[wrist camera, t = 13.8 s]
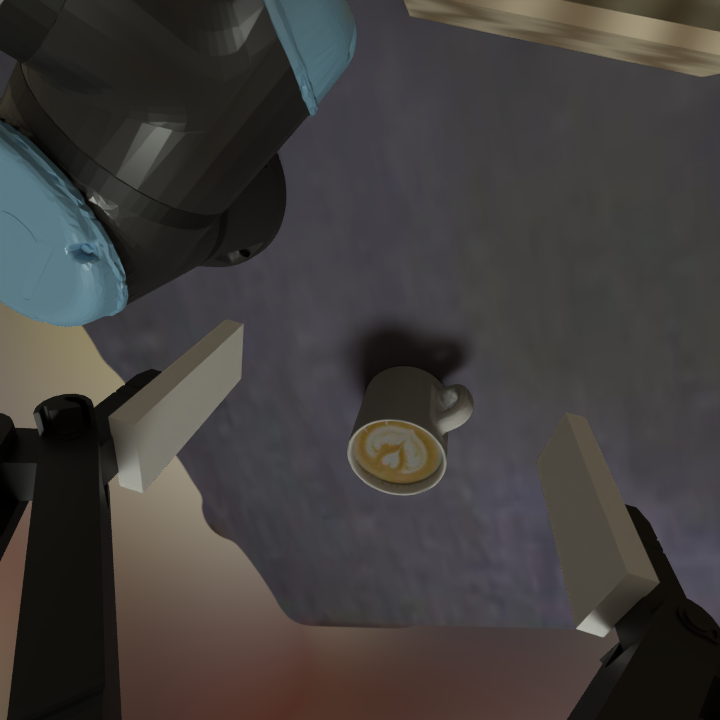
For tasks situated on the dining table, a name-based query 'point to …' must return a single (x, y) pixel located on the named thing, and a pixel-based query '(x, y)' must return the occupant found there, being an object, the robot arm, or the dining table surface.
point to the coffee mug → (406, 430)
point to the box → (598, 27)
